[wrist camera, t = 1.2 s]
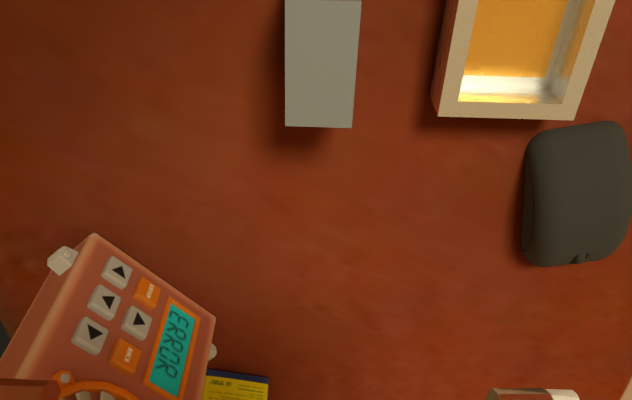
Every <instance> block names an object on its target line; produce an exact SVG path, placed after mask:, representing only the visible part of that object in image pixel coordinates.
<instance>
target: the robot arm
mask: <svg viewBox="0 0 632 400" xmlns="http://www.w3.org/2000/svg"><path fill="white" fill-rule="evenodd" d="M60 393H61V389H60V387H59V385H58V382H57V380H37V379H11V378H0V400H58V398H59V396H60ZM486 400H580V399H579V397H578V395H577V394H576V393H575V392H574V391H573V390H569V389H542V388H492V389H491V390H490V391H489V392H488V394H487V397H486Z"/></svg>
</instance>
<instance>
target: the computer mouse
mask: <svg viewBox="0 0 632 400" xmlns="http://www.w3.org/2000/svg"><path fill="white" fill-rule="evenodd" d="M526 151H527V152H526V158H525V188H524V211H523V224H522V233H521V247H522V250H523V253H524V256H525V257H526V259H527V260H528V261H529V262H531V263H532V264H534V265H536V266H540V267H549V266H557V265H565V264H573V263H574V264H581V263H583V262H589V261H596V260H600V259H603V258H605V257H607V256H609V255H610V254H612V253H613V252H614V251H615V250H616V249H617V248H618V247H619V245H620V244H621V242H622V241H623V239H624V237H625V234H626V232H627V229H628V225H629V222H630V217H631V210H632V168H631V160H630V154H629V149H628V144H627V140H626V136H625V133H624V131H623V129H622V128H621V127H620V126H619V125H618V124H617V123H615V122H611V121H602V122H595V123H589V124H582V125H576V126H569V127H563V128H556V129H550V130H545V131H543V132H541V133H539V134H537V135H536V136H535V137H533V138H532V139H531V141H530V142H529V144H528V145H527V148H526Z"/></svg>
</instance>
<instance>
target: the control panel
mask: <svg viewBox="0 0 632 400" xmlns="http://www.w3.org/2000/svg"><path fill="white" fill-rule="evenodd" d="M47 266H48V267H49V268H51V271H50V273H49V275H48V276H47V278H46V280H45V282H44V283H43V285H42V287H41V289H40V290H39V292H38V294H37V296H36V297H35V299H34V301H33V303H32V304H31V306H30V308H29V310H28V311H27V313H26V315H25V317H24V319H23V320H22V322H21V324H20V326H19V327H18V329H17V331H16V333H15V334H14V336H13V338H12V340H11V341H10V343H9V345H8V347H7V349H6V350H5V352H4V354H3V356H2V357H1V359H0V378H11V379H37V380H57V382H58V385H59V387H60V389H61V393H60V396H59V398H58V400H201V395H202V390H203V384H204V379H205V374H206V369H207V364H208V361H209V360H211V359H212V358H214V357H215V355H216V354H217V350H216V346H215V345H214V344H212V338H213V333H214V327H215V322H216V317H215V316H214V315H212V314H211V313H209V312H208V311H207V310H205V309H204V308H202V307H201V306H199V305H198V304H197V303H195V302H194V301H192V300H191V299H189V298H188V297H187V296H185V295H184V294H182V293H181V292H179V291H178V290H177V289H175V288H174V287H172V286H171V285H169V284H168V283H167V282H165V281H164V280H162V279H161V278H160V277H158V276H157V275H155V274H154V273H152V272H151V271H150V270H148V269H147V268H145V267H144V266H142V265H141V264H140V263H138V262H137V261H135V260H134V259H132V258H131V257H130V256H128V255H127V254H125V253H124V252H122V251H121V250H120V249H118V248H117V247H115V246H114V245H113V244H111V243H110V242H108V241H107V240H105V239H104V238H103V237H101V236H100V235H98V234H97V233H92V234H90V235H89V236H88V237H87V238H86V239H85V240H83V241H82V242H81V243H80V244H79V245H77V246H76V247H75V248H74V249H71V248H69V247H67V246H63V247H61V248H59V249H58V250H57V251H56V252H55V253H54V254H53V255H51V256H50V257H49V258H48V259H47Z"/></svg>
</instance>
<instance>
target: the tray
mask: <svg viewBox="0 0 632 400" xmlns="http://www.w3.org/2000/svg"><path fill="white" fill-rule="evenodd" d="M614 2H615V0H446V1H445V7H444V12H443V18H442V24H441V30H440V36H439V42H438V48H437V54H436V60H435V66H434V72H433V78H432V84H431V90H430V98H431V101H432V103H433V106H434V108H435V111H436V113H437V116H438V117H473V118H508V119H543V120H574V118H575V115H576V112H577V109H578V106H579V103H580V100H581V97H582V95H583V92H584V89H585V86H586V83H587V80H588V77H589V74H590V71H591V69H592V66H593V63H594V60H595V57H596V54H597V51H598V48H599V46H600V43H601V40H602V37H603V34H604V31H605V28H606V25H607V22H608V20H609V17H610V14H611V11H612V8H613V5H614Z"/></svg>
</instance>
